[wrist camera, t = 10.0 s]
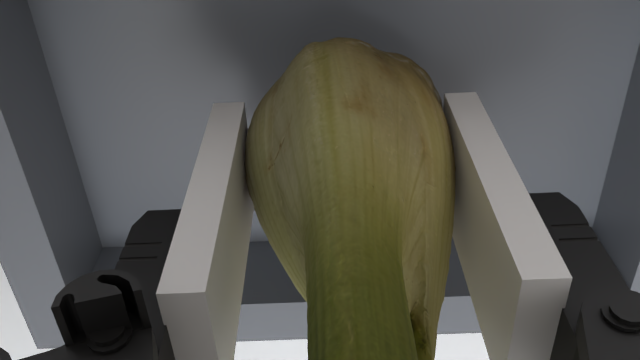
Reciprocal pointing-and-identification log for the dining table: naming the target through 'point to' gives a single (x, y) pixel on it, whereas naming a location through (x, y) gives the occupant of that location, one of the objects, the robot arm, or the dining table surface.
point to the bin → (250, 87)
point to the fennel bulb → (357, 197)
